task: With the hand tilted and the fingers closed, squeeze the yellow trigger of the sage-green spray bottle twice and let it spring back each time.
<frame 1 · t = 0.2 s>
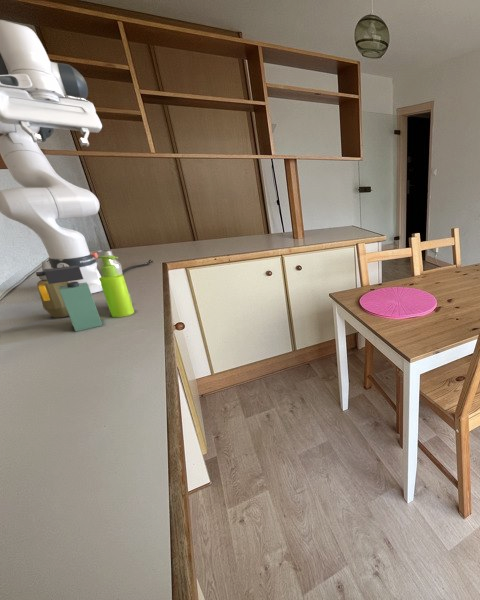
hand: (63, 143, 87), 52 cm above the counter, tool tilted 20°, fingers open, 8 cm apart
plastic bottle: (122, 306, 111), on the counter
spray bottle: (88, 325, 96), on the counter
squeeze bottle: (65, 315, 104), on the counter
soap dispenser: (124, 314, 105), on the counter
trigger: (44, 292, 88), point 12 cm above the counter, slide at -0.1 cm
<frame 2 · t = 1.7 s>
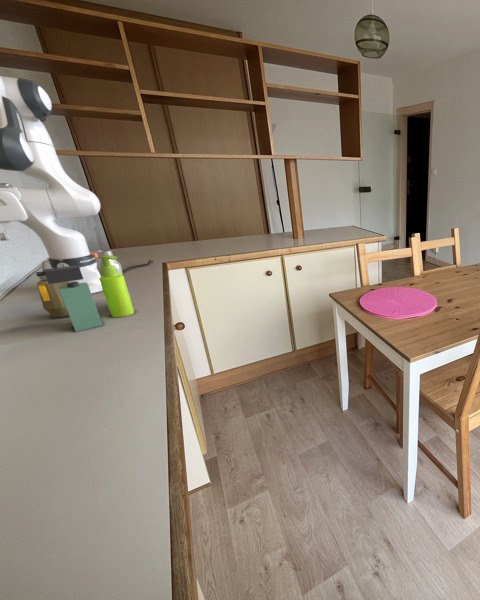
nothing on the counter moved.
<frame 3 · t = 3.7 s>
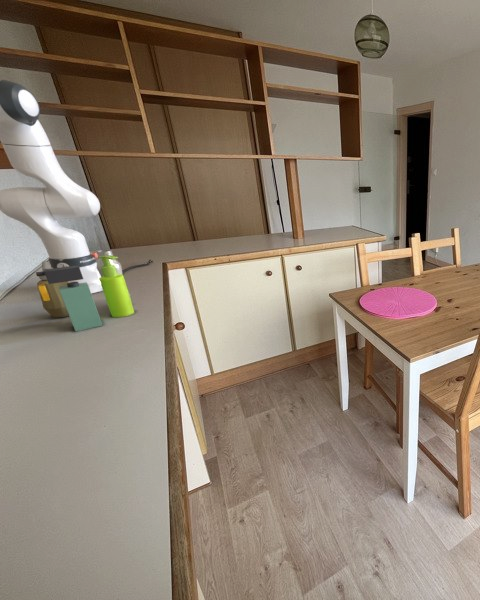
nothing on the counter moved.
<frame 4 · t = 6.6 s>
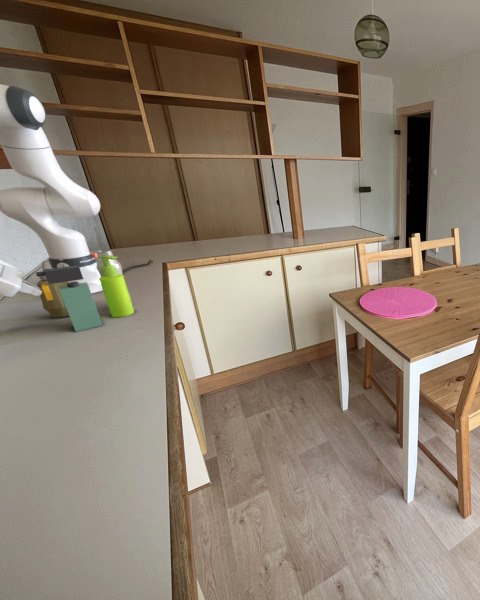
hand: (40, 292, 87), 12 cm above the counter, tool tilted 45°, fingers closed, pressing on trigger
trigger: (47, 291, 88), point 12 cm above the counter, slide at 0.6 cm, touching gripper
everything else where it was.
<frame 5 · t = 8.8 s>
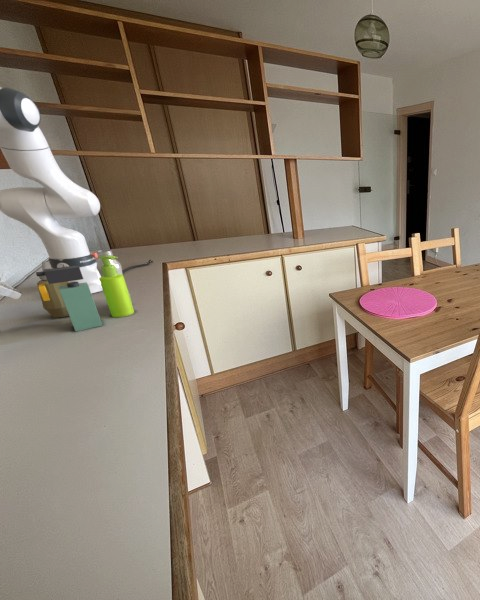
hand: (19, 295, 85), 13 cm above the counter, tool tilted 45°, fingers closed
trigger: (44, 292, 88), point 12 cm above the counter, slide at -0.1 cm
everything else where it was.
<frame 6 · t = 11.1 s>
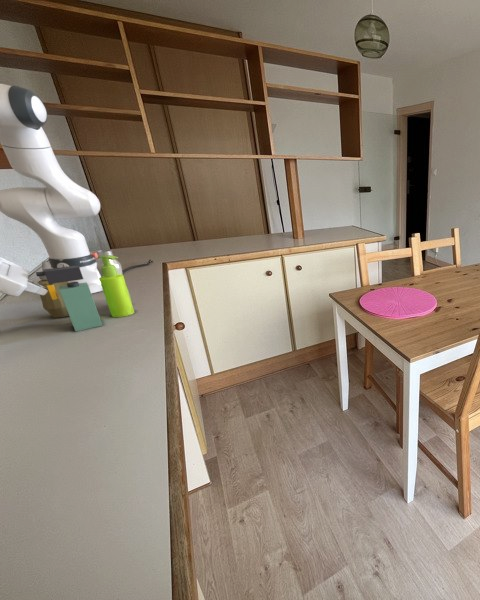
hand: (46, 292, 88), 12 cm above the counter, tool tilted 45°, fingers closed, pressing on trigger
trigger: (52, 291, 89), point 12 cm above the counter, slide at 1.6 cm, touching gripper
everything else where it was.
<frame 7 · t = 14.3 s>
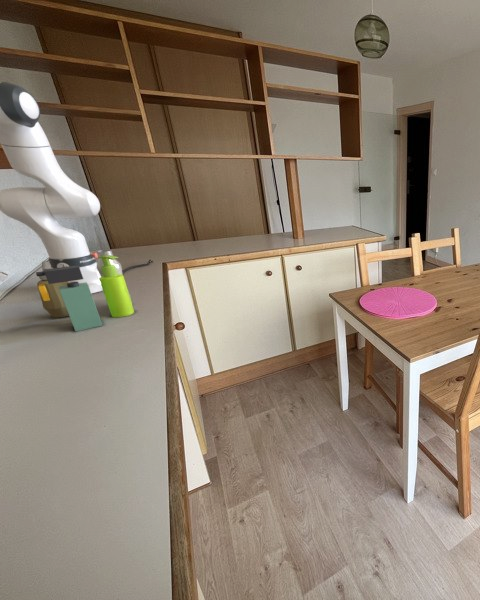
hand: (6, 278, 82), 18 cm above the counter, tool tilted 45°, fingers closed
trigger: (44, 292, 88), point 12 cm above the counter, slide at -0.1 cm
everything else where it was.
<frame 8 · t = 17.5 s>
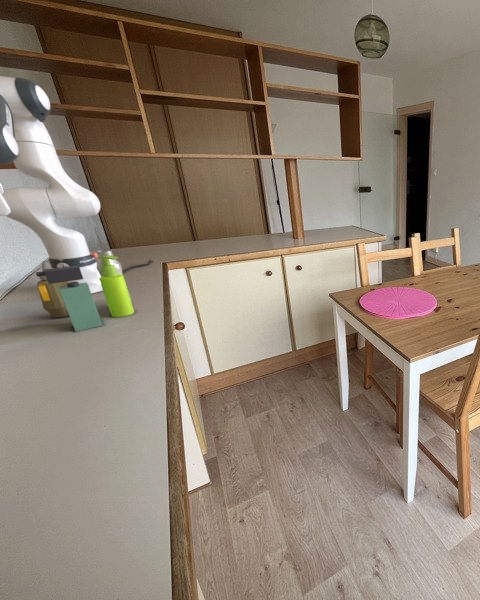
nothing on the counter moved.
at the end: trigger pulled out 1.6 cm at the most during the clip, back to where it started at the end; trigger slide at -0.1 cm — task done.
